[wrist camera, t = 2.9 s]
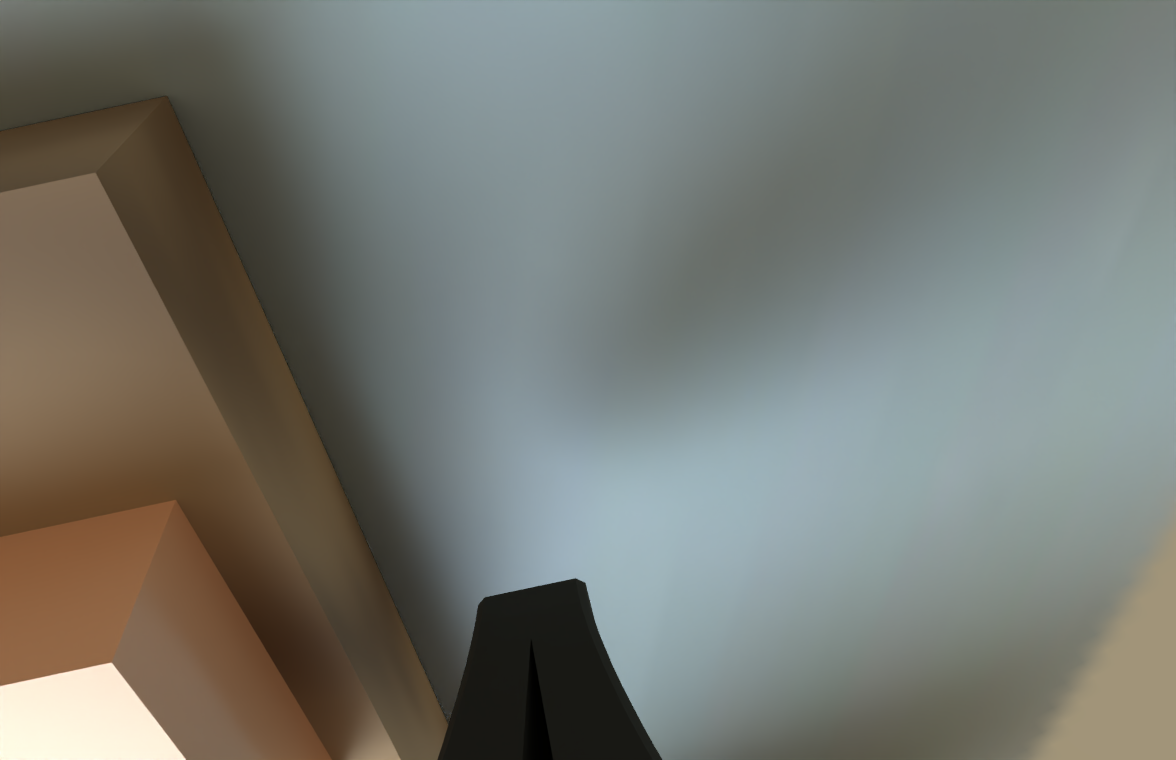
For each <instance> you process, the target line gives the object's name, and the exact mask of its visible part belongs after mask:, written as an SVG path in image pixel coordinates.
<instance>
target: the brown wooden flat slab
mask: <svg viewBox="0 0 1176 760" xmlns="http://www.w3.org/2000/svg"><path fill="white" fill-rule="evenodd" d="M173 500H176V501H177V502H178V504H179V506H180V507H181V509H182V511H183V512H184V514H185V516H186V517H187V519H188V521H189V522H190V524H191V526H192V527H193V529H194V531H195V532H196V534H197V536H198V537H199V539H200V541H201V542H202V544H203V546H204V547H205V549H206V551H207V552H208V554H209V556H210V557H211V559H212V561H213V562H214V564H215V566H216V567H217V569H218V571H219V572H220V574H221V576H222V577H223V579H224V581H225V582H226V584H227V586H228V587H229V589H230V591H231V592H232V594H233V596H234V597H235V599H236V601H237V602H238V604H239V606H240V607H241V609H242V611H243V612H244V614H245V616H246V617H247V619H248V621H249V622H250V624H251V626H252V627H253V629H254V631H255V632H256V634H257V636H258V637H259V639H260V641H261V642H262V644H263V646H264V647H265V649H266V651H267V652H268V654H269V656H270V657H271V659H272V661H273V662H274V664H275V666H276V667H277V669H278V671H279V672H280V674H281V676H282V677H283V679H284V681H285V682H286V684H287V686H288V687H289V689H290V691H291V692H292V694H293V696H294V697H295V699H296V701H297V702H298V704H299V706H300V707H301V709H302V711H303V712H304V714H305V716H306V717H307V719H308V721H309V722H310V724H311V726H312V727H313V729H314V731H315V732H316V734H317V736H318V737H319V739H320V741H321V742H322V744H323V746H324V747H325V749H326V751H327V752H328V754H329V756H330V757H331V759H332V760H437V759H438V756H439V753H440V750H441V747H442V744H443V741H444V737H445V734H446V731H447V728H448V723H447V721H446V718H445V716H444V714H443V712H442V710H441V707H440V705H439V703H438V701H437V698H436V696H435V694H434V692H433V689H432V687H431V685H430V683H429V680H428V678H427V676H426V674H425V671H424V669H423V667H422V665H421V663H420V660H419V658H418V656H417V654H416V651H415V649H414V647H413V645H412V642H411V640H410V638H409V636H408V633H407V631H406V629H405V627H404V625H403V622H402V620H401V618H400V616H399V613H398V611H397V609H396V607H395V604H394V602H393V600H392V598H391V595H390V593H389V591H388V589H387V587H386V584H385V582H384V580H383V578H382V575H381V573H380V571H379V569H378V566H377V564H376V562H375V560H374V557H373V555H372V553H371V551H370V549H369V546H368V544H367V542H366V540H365V537H364V535H363V533H362V531H361V528H360V526H359V524H358V522H357V519H356V517H355V515H354V513H353V510H352V508H351V506H350V504H349V502H348V499H347V497H346V495H345V493H344V490H343V488H342V486H341V484H340V481H339V479H338V477H337V475H336V472H335V470H334V468H333V466H332V464H331V461H330V459H329V457H328V455H327V452H326V450H325V448H324V446H323V443H322V441H321V439H320V437H319V434H318V432H317V430H316V428H315V426H314V423H313V421H312V419H311V417H310V414H309V412H308V410H307V408H306V405H305V403H304V401H303V399H302V396H301V394H300V392H299V390H298V387H297V385H296V383H295V381H294V379H293V376H292V374H291V372H290V370H289V367H288V365H287V363H286V361H285V358H284V356H283V354H282V352H281V349H280V347H279V345H278V343H277V341H276V338H275V336H274V334H273V332H272V329H271V327H270V325H269V323H268V320H267V318H266V316H265V314H264V311H263V309H262V307H261V305H260V303H259V300H258V298H257V296H256V294H255V291H254V289H253V287H252V285H251V282H250V280H249V278H248V276H247V273H246V271H245V269H244V267H243V265H242V262H241V260H240V258H239V256H238V253H237V251H236V249H235V247H234V244H233V242H232V240H231V238H230V235H229V233H228V231H227V229H226V226H225V224H224V222H223V220H222V218H221V215H220V213H219V211H218V209H217V206H216V204H215V202H214V200H213V197H212V195H211V193H210V191H209V188H208V186H207V184H206V182H205V180H204V177H203V175H202V173H201V171H200V168H199V166H198V164H197V162H196V159H195V157H194V155H193V153H192V150H191V148H190V146H189V144H188V142H187V139H186V137H185V135H184V133H183V130H182V128H181V126H180V124H179V121H178V119H177V117H176V115H175V112H174V110H173V108H172V106H171V104H170V101H169V99H168V97H167V96H164V97H159V98H155V99H150V100H145V101H141V102H136V103H131V104H126V105H122V106H117V107H112V108H107V109H103V110H98V111H93V112H89V113H84V114H79V115H74V116H70V117H65V118H60V119H55V120H51V121H46V122H41V123H36V124H32V125H27V126H22V127H18V128H13V129H8V130H3V131H0V537H3V536H8V535H12V534H17V533H22V532H27V531H31V530H36V529H41V528H45V527H50V526H55V525H60V524H64V523H69V522H74V521H78V520H83V519H88V518H93V517H97V516H102V515H107V514H111V513H116V512H121V511H125V510H130V509H135V508H140V507H144V506H149V505H154V504H158V503H163V502H168V501H173Z"/></svg>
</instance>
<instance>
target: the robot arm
mask: <svg viewBox="0 0 1176 760" xmlns="http://www.w3.org/2000/svg"><path fill="white" fill-rule="evenodd" d="M437 760H662V758H661V757H660V755H659V753H658V752H657V750H656V748H655V747H654V745H653V743H652V741H651V739H650V738H649V736H648V734H647V732H646V730H645V729H644V727H643V725H642V723H641V721H640V719H639V717H638V716H637V714H636V712H635V710H634V708H633V706H632V704H631V702H630V700H629V698H628V696H627V694H626V692H625V690H624V688H623V687H622V685H621V683H620V680H619V678H618V676H617V674H616V672H615V670H614V668H613V666H612V663H611V661H610V659H609V656H608V654H607V651H606V649H605V647H604V644H603V642H602V640H601V637H600V634H599V632H598V629H597V626H596V623H595V620H594V616H593V612H592V608H591V604H590V600H589V596H588V592H587V587H586V583H584V582H582V581H580V580H578V579H576V578H575V579H570V580H565V581H561V582H556V583H551V584H546V585H542V586H537V587H532V588H527V589H523V590H518V591H513V592H508V593H504V594H499V595H494V596H489V597H485V598H484V599H483V600H482V601H481V602H480V604H479V605H478V610H477V616H476V622H475V627H474V632H473V637H472V641H471V646H470V650H469V654H468V658H467V662H466V666H465V670H464V674H463V677H462V681H461V685H460V688H459V692H458V696H457V699H456V702H455V706H454V709H453V712H452V715H451V718H450V721H449V725H448V728H447V731H446V734H445V737H444V741H443V744H442V747H441V750H440V753H439V756H438V759H437Z"/></svg>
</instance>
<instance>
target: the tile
mask: <svg viewBox="0 0 1176 760" xmlns="http://www.w3.org/2000/svg"><path fill="white" fill-rule="evenodd" d="M0 760H332V759H331V757H330V756H329V754H328V752H327V751H326V749H325V747H324V746H323V744H322V742H321V741H320V739H319V737H318V736H317V734H316V732H315V731H314V729H313V727H312V726H311V724H310V722H309V721H308V719H307V717H306V716H305V714H304V712H303V711H302V709H301V707H300V706H299V704H298V702H297V701H296V699H295V697H294V696H293V694H292V692H291V691H290V689H289V687H288V686H287V684H286V682H285V681H284V679H283V677H282V676H281V674H280V672H279V671H278V669H277V667H276V666H275V664H274V662H273V661H272V659H271V657H270V656H269V654H268V652H267V651H266V649H265V647H264V646H263V644H262V642H261V641H260V639H259V637H258V636H257V634H256V632H255V631H254V629H253V627H252V626H251V624H250V622H249V621H248V619H247V617H246V616H245V614H244V612H243V611H242V609H241V607H240V606H239V604H238V602H237V601H236V599H235V597H234V596H233V594H232V592H231V591H230V589H229V587H228V586H227V584H226V582H225V581H224V579H223V577H222V576H221V574H220V572H219V571H218V569H217V567H216V566H215V564H214V562H213V561H212V559H211V557H210V556H209V554H208V552H207V551H206V549H205V547H204V546H203V544H202V542H201V541H200V539H199V537H198V536H197V534H196V532H195V531H194V529H193V527H192V526H191V524H190V522H189V521H188V519H187V517H186V516H185V514H184V512H183V511H182V509H181V507H180V506H179V504H178V502H177V501H176V500H173V501H168V502H163V503H158V504H154V505H149V506H144V507H140V508H135V509H130V510H125V511H121V512H116V513H111V514H107V515H102V516H97V517H93V518H88V519H83V520H78V521H74V522H69V523H64V524H60V525H55V526H50V527H45V528H41V529H36V530H31V531H27V532H22V533H17V534H12V535H8V536H3V537H0Z"/></svg>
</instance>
